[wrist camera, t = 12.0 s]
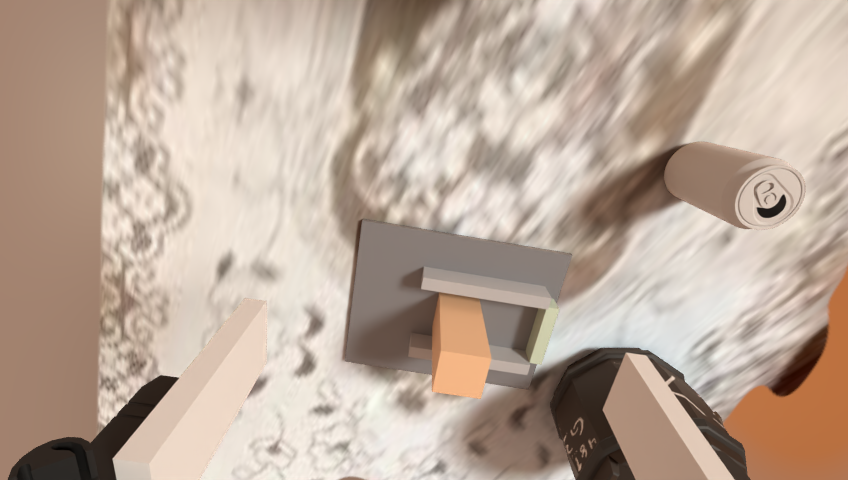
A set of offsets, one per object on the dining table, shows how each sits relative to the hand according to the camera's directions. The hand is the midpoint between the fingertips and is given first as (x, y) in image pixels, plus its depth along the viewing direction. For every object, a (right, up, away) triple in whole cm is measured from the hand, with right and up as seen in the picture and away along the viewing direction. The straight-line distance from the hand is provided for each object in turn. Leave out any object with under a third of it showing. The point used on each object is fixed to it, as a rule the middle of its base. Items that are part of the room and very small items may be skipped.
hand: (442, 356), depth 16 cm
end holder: (+3, -4, +38) cm, 38 cm away
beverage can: (+29, +12, +31) cm, 44 cm away
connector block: (+3, -5, +38) cm, 38 cm away
